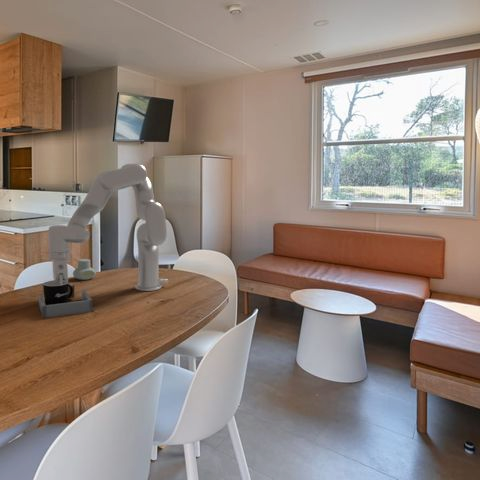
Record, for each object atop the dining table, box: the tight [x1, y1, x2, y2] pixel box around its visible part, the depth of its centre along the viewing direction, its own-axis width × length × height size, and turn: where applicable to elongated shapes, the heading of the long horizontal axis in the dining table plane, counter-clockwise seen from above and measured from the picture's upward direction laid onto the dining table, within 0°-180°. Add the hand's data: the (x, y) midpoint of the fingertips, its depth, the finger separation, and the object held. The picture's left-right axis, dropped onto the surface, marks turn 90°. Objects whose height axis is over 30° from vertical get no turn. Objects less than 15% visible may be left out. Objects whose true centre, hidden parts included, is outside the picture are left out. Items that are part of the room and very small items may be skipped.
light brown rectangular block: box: [68, 282, 76, 299], centre depth 159 cm, size 11×4×6 cm, turn 121°
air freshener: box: [72, 258, 97, 281], centre depth 195 cm, size 11×8×10 cm
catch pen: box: [38, 289, 94, 319], centre depth 150 cm, size 17×17×4 cm
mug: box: [42, 279, 73, 305], centre depth 151 cm, size 12×9×10 cm
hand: (60, 297), depth 159 cm, fingers closed on light brown rectangular block, 3 cm apart
